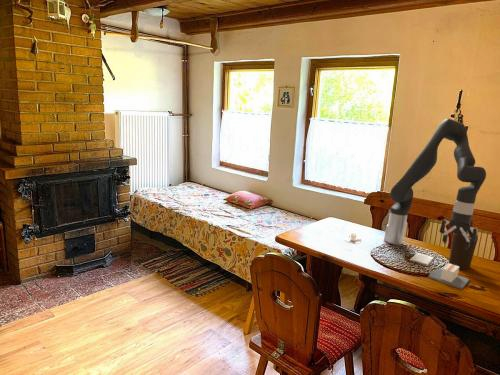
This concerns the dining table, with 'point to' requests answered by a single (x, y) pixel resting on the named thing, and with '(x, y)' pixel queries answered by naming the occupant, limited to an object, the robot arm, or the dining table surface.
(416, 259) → the external hard drive
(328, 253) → the dining table surface
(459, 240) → the olive oil
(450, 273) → the block
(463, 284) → the mat
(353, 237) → the teacup and saucer
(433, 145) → the robot arm
